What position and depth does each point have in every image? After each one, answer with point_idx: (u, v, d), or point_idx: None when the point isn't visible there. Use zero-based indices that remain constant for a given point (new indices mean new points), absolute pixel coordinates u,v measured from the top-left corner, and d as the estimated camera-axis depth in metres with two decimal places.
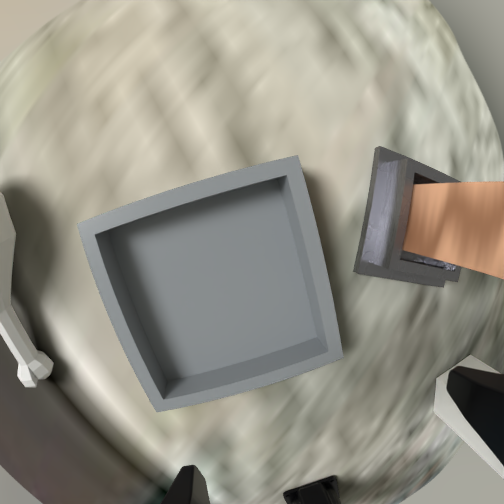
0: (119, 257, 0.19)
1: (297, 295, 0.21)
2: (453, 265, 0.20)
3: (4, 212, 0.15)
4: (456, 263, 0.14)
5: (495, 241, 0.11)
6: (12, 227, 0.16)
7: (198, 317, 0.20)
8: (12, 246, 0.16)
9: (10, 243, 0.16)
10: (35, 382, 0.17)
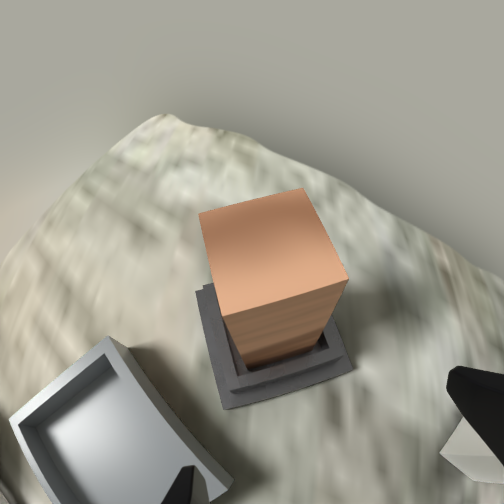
0: (45, 444, 0.17)
1: None
2: (326, 343, 0.19)
3: None
4: (235, 344, 0.14)
5: None
6: None
7: (105, 481, 0.15)
8: None
9: None
10: None
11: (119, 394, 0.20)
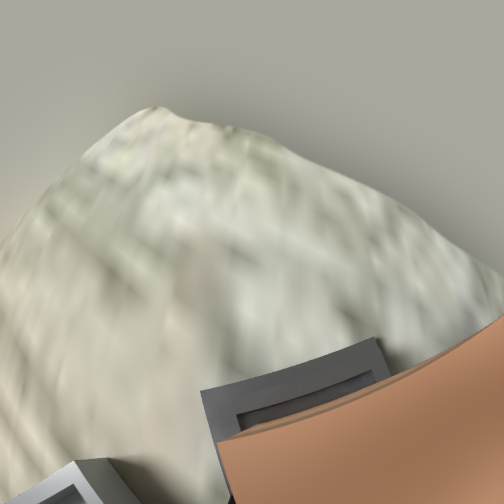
0: None
1: None
2: None
3: None
4: None
5: None
6: None
7: None
8: None
9: None
10: None
11: None
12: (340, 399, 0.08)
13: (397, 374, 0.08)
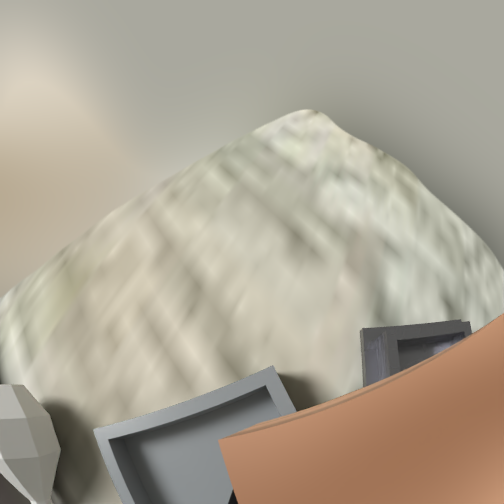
0: (134, 460, 0.17)
1: None
2: None
3: (50, 430, 0.16)
4: None
5: None
6: (57, 444, 0.16)
7: None
8: (56, 458, 0.15)
9: (55, 456, 0.15)
10: None
11: None
12: (341, 398, 0.08)
13: (397, 373, 0.08)
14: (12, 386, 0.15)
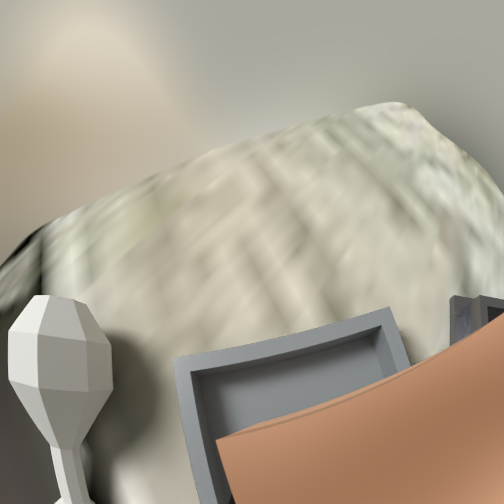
0: (208, 404, 0.17)
1: None
2: None
3: (108, 363, 0.17)
4: None
5: None
6: (111, 381, 0.17)
7: None
8: (105, 399, 0.16)
9: (104, 395, 0.16)
10: None
11: (358, 374, 0.18)
12: (340, 398, 0.08)
13: None
14: (74, 302, 0.17)
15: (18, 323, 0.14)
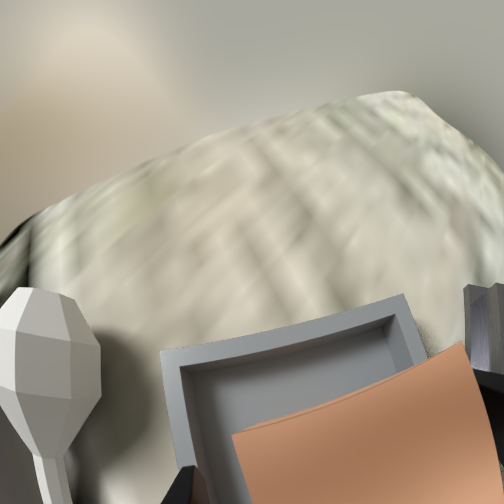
0: (200, 404, 0.15)
1: None
2: None
3: (95, 367, 0.15)
4: None
5: None
6: (99, 387, 0.15)
7: None
8: (92, 406, 0.14)
9: (91, 402, 0.14)
10: None
11: (369, 370, 0.16)
12: (329, 402, 0.09)
13: (379, 381, 0.09)
14: (60, 296, 0.15)
15: None
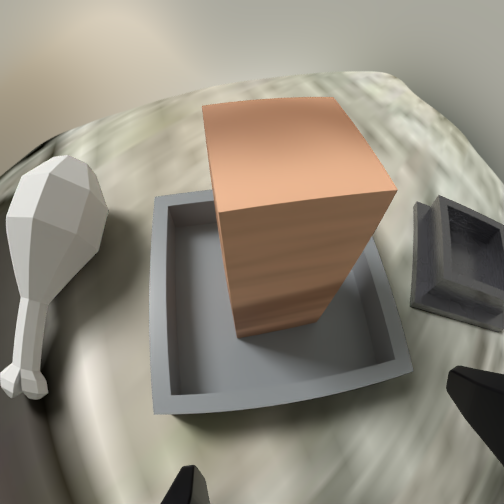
0: (178, 249, 0.20)
1: (355, 313, 0.18)
2: None
3: (101, 224, 0.19)
4: (229, 286, 0.11)
5: None
6: (99, 242, 0.19)
7: None
8: (88, 257, 0.19)
9: (89, 252, 0.18)
10: (15, 390, 0.13)
11: None
12: None
13: None
14: (87, 165, 0.19)
15: (33, 171, 0.16)
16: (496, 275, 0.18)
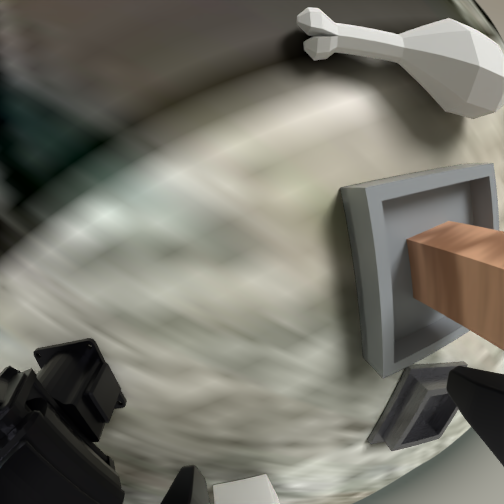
0: None
1: (414, 325, 0.22)
2: (402, 442, 0.23)
3: (465, 114, 0.17)
4: (480, 261, 0.13)
5: None
6: (451, 112, 0.17)
7: None
8: (440, 103, 0.17)
9: (446, 105, 0.17)
10: (313, 28, 0.14)
11: None
12: None
13: None
14: None
15: (503, 56, 0.11)
16: (409, 433, 0.24)
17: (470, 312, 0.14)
